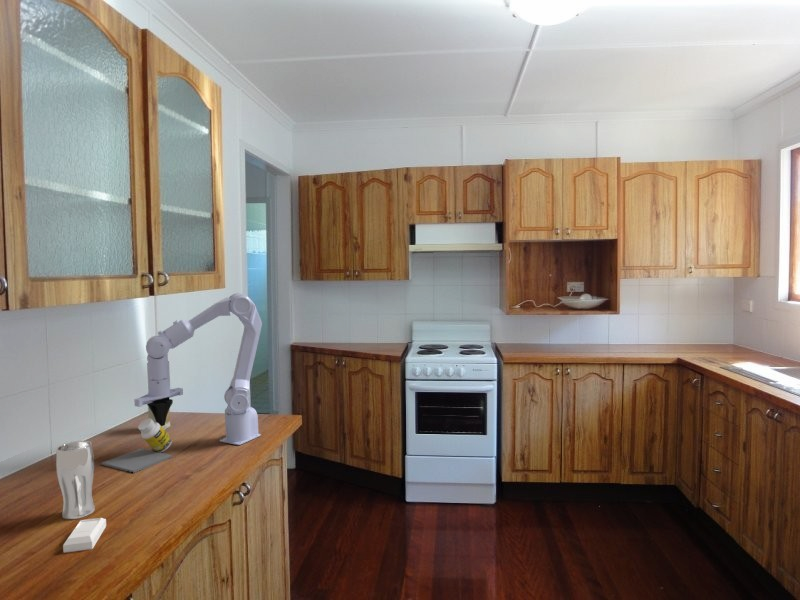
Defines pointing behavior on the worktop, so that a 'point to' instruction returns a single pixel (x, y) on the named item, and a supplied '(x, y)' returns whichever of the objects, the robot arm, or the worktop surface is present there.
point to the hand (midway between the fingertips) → (160, 425)
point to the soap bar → (85, 535)
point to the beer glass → (76, 478)
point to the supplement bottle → (155, 435)
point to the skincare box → (151, 416)
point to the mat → (137, 460)
